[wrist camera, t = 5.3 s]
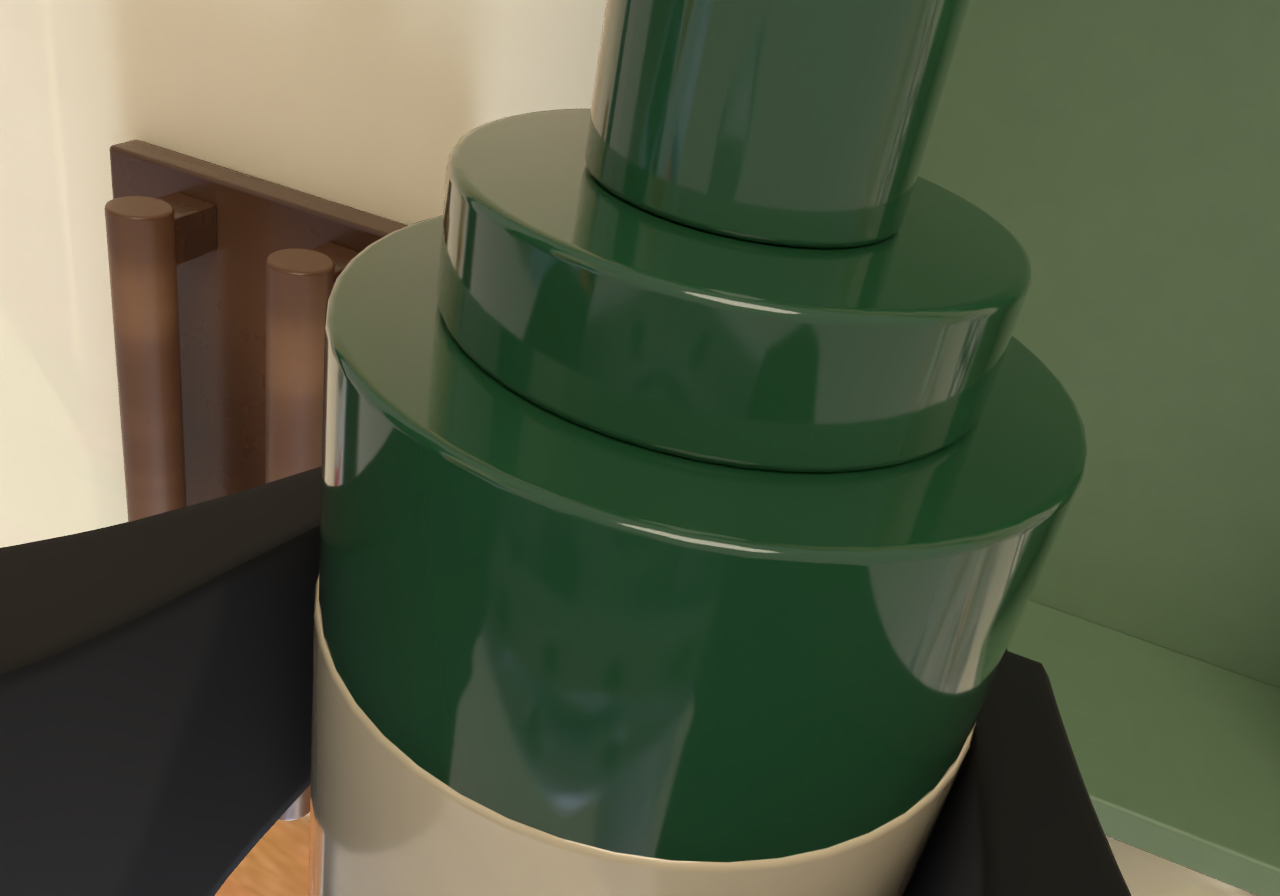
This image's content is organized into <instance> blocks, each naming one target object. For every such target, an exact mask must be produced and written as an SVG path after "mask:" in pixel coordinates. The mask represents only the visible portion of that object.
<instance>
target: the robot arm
mask: <svg viewBox="0 0 1280 896" xmlns="http://www.w3.org/2000/svg"><path fill="white" fill-rule="evenodd" d="M321 476H322V466H320V467H317V468H314V469H311V470H308V471H305V472H301V473H298V474H295V475H292V476H289V477H285V478H282V479H279V480H276V481H273V482H269V483H266V484H263V485H260V486H257V487H253V488H250V489H247V490H244V491H240V492H237V493H234V494H230V495H227V496H223V497H219V498H216V499H212V500H208V501H205V502H201V503H197V504H194V505H190V506H186V507H183V508H179V509H175V510H172V511H168V512H164V513H160V514H157V515H153V516H149V517H146V518H142V519H138V520H135V521H131V522H127V523H122V524H118V525H114V526H110V527H105V528H101V529H96V530H92V531H87V532H82V533H78V534H73V535H68V536H63V537H57V538H52V539H47V540H42V541H36V542H31V543H26V544H20V545H15V546H9V547H3V548H0V896H214V895H215V894H216V892H217V891H218V890H219V888H220V887H221V886H222V884H223V883H224V882H225V880H226V879H227V878H228V876H229V875H230V874H231V873H232V872H233V871H234V869H235V868H236V867H237V866H238V865H239V863H240V862H241V861H242V860H243V859H244V858H245V856H246V855H247V854H248V853H249V852H250V850H251V849H252V848H253V847H254V846H255V845H256V843H257V842H258V841H259V840H260V839H261V838H262V837H263V835H264V834H265V833H266V832H267V831H268V830H269V829H270V828H271V827H272V826H273V825H274V824H275V822H276V821H277V820H278V819H279V818H280V817H281V816H282V815H283V814H284V813H285V812H286V810H287V809H288V808H289V807H290V806H291V805H292V804H293V803H294V802H295V801H296V800H297V799H298V797H299V796H300V795H301V794H302V793H303V792H304V791H305V790H306V789H307V788H308V787H309V785H310V784H311V740H312V691H313V642H314V605H315V585H316V581H317V577H318V573H319V564H320V520H321ZM904 896H1131V894H1130V892H1129V889H1128V887H1127V885H1126V883H1125V880H1124V878H1123V876H1122V874H1121V872H1120V869H1119V867H1118V865H1117V863H1116V860H1115V858H1114V855H1113V853H1112V850H1111V848H1110V846H1109V843H1108V841H1107V838H1106V836H1105V834H1104V831H1103V829H1102V826H1101V824H1100V821H1099V819H1098V817H1097V814H1096V812H1095V809H1094V807H1093V805H1092V802H1091V799H1090V797H1089V794H1088V792H1087V789H1086V786H1085V784H1084V781H1083V778H1082V776H1081V773H1080V770H1079V767H1078V765H1077V762H1076V759H1075V756H1074V753H1073V751H1072V748H1071V745H1070V742H1069V739H1068V736H1067V733H1066V730H1065V727H1064V724H1063V721H1062V718H1061V715H1060V712H1059V709H1058V706H1057V702H1056V699H1055V696H1054V693H1053V689H1052V686H1051V683H1050V679H1049V677H1048V675H1047V673H1046V671H1045V669H1044V667H1043V665H1042V663H1040V662H1037V661H1034V660H1031V659H1029V658H1026V657H1023V656H1020V655H1017V654H1015V653H1012V652H1009V651H1007V652H1006V654H1005V656H1004V659H1003V661H1002V663H1001V666H1000V668H999V670H998V672H997V675H996V677H995V679H994V681H993V684H992V686H991V688H990V691H989V693H988V695H987V697H986V700H985V702H984V704H983V707H982V709H981V711H980V713H979V716H978V718H977V721H976V725H975V729H974V733H973V736H972V740H971V744H970V747H969V749H968V752H967V754H966V756H965V758H964V761H963V763H962V765H961V767H960V770H959V772H958V774H957V776H956V779H955V781H954V783H953V785H952V788H951V790H950V792H949V795H948V797H947V799H946V801H945V804H944V806H943V808H942V810H941V813H940V815H939V817H938V819H937V822H936V824H935V826H934V828H933V831H932V833H931V835H930V837H929V840H928V842H927V844H926V846H925V849H924V851H923V853H922V856H921V858H920V860H919V862H918V865H917V867H916V869H915V871H914V874H913V876H912V878H911V880H910V883H909V885H908V887H907V889H906V892H905V894H904Z"/></svg>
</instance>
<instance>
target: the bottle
mask: <svg viewBox="0 0 1280 896" xmlns="http://www.w3.org/2000/svg"><path fill="white" fill-rule="evenodd" d="M969 3H970V0H607V1H606V8H605V15H604V22H603V30H602V37H601V44H600V51H599V58H598V65H597V72H596V79H595V86H594V93H593V100H592V107H591V109H564V110H550V111H541V112H532V113H526V114H521V115H516V116H510V117H505V118H502V119H498V120H495V121H492V122H488V123H486V124H484V125H481V126H479V127H477V128H475V129H473V130H471V131H470V132H468V133H467V134H466V135H464V136H463V137H462V138H460V140H459V141H458V143H457V144H456V145H455V147H454V148H453V150H452V152H451V154H450V156H449V160H448V165H447V173H446V186H445V198H444V211H443V215H441V216H438V217H434V218H431V219H427V220H423V221H420V222H417V223H414V224H412V225H409V226H407V227H404V228H402V229H399V230H397V231H394V232H392V233H390V234H388V235H386V236H385V237H383V238H381V239H379V240H377V241H376V242H374V243H372V244H370V245H369V246H367V247H366V248H365V249H364V250H363V251H361V252H360V253H359V254H358V255H357V256H355V257H354V258H353V259H352V260H351V261H350V262H349V263H348V265H347V266H346V267H345V268H344V270H343V271H342V272H341V274H340V275H339V276H338V278H337V279H336V281H335V283H334V285H333V288H332V291H331V293H330V296H329V298H328V301H327V304H326V315H325V345H324V389H323V433H322V476H321V520H320V564H319V573H318V577H317V581H316V585H315V605H314V642H313V691H312V740H311V790H310V839H309V888H308V896H904V894H905V892H906V889H907V887H908V885H909V883H910V880H911V878H912V876H913V874H914V871H915V869H916V867H917V865H918V862H919V860H920V858H921V856H922V853H923V851H924V849H925V846H926V844H927V842H928V840H929V837H930V835H931V833H932V831H933V828H934V826H935V824H936V822H937V819H938V817H939V815H940V813H941V810H942V808H943V806H944V804H945V801H946V799H947V797H948V795H949V792H950V790H951V788H952V785H953V783H954V781H955V779H956V776H957V774H958V772H959V770H960V767H961V765H962V763H963V761H964V758H965V756H966V754H967V752H968V749H969V747H970V744H971V740H972V736H973V733H974V729H975V725H976V721H977V718H978V716H979V713H980V711H981V709H982V707H983V704H984V702H985V700H986V697H987V695H988V693H989V691H990V688H991V686H992V684H993V681H994V679H995V677H996V675H997V672H998V670H999V668H1000V666H1001V663H1002V661H1003V659H1004V656H1005V654H1006V652H1007V650H1008V647H1009V645H1010V643H1011V641H1012V638H1013V636H1014V634H1015V631H1016V629H1017V627H1018V625H1019V622H1020V620H1021V618H1022V616H1023V613H1024V611H1025V609H1026V606H1027V604H1028V602H1029V600H1030V597H1031V595H1032V593H1033V591H1034V588H1035V586H1036V584H1037V581H1038V579H1039V577H1040V575H1041V572H1042V570H1043V568H1044V565H1045V563H1046V561H1047V559H1048V556H1049V554H1050V552H1051V550H1052V547H1053V545H1054V543H1055V540H1056V538H1057V536H1058V534H1059V531H1060V529H1061V527H1062V525H1063V522H1064V520H1065V518H1066V515H1067V513H1068V511H1069V509H1070V506H1071V504H1072V502H1073V500H1074V497H1075V495H1076V493H1077V490H1078V488H1079V486H1080V484H1081V481H1082V479H1083V475H1084V470H1085V465H1086V460H1087V445H1086V437H1085V429H1084V424H1083V422H1082V419H1081V417H1080V414H1079V412H1078V409H1077V407H1076V404H1075V402H1074V401H1073V399H1072V398H1071V396H1070V395H1069V393H1068V392H1067V390H1066V389H1065V387H1064V386H1063V384H1062V383H1061V381H1060V380H1059V379H1058V378H1057V377H1056V376H1055V375H1054V374H1053V372H1052V371H1051V370H1050V369H1049V368H1048V367H1047V366H1046V365H1045V363H1044V362H1043V361H1042V360H1041V359H1039V358H1038V357H1037V356H1036V355H1035V354H1034V353H1033V352H1032V351H1030V350H1029V349H1028V348H1027V347H1026V346H1025V345H1024V344H1023V343H1021V342H1020V341H1019V340H1018V339H1016V338H1015V337H1014V336H1012V334H1013V331H1014V328H1015V326H1016V323H1017V320H1018V318H1019V315H1020V312H1021V310H1022V307H1023V304H1024V302H1025V299H1026V296H1027V293H1028V291H1029V288H1030V285H1031V263H1030V259H1029V257H1028V255H1027V252H1026V250H1025V248H1024V247H1023V246H1022V245H1021V243H1020V242H1019V241H1018V239H1017V238H1016V237H1015V236H1014V235H1013V234H1012V233H1011V232H1010V231H1009V230H1008V229H1007V228H1005V227H1004V226H1003V225H1002V224H1001V223H1000V222H998V221H997V220H995V219H994V218H993V217H991V216H990V215H989V214H987V213H986V212H984V211H983V210H981V209H980V208H978V207H977V206H975V205H973V204H972V203H970V202H968V201H967V200H965V199H963V198H962V197H960V196H958V195H956V194H954V193H952V192H950V191H948V190H947V189H945V188H943V187H941V186H939V185H937V184H934V183H932V182H930V181H928V180H926V179H923V178H921V177H919V176H918V173H919V170H920V167H921V163H922V160H923V156H924V153H925V150H926V146H927V143H928V140H929V136H930V133H931V130H932V126H933V123H934V120H935V116H936V113H937V110H938V106H939V103H940V100H941V96H942V93H943V90H944V86H945V83H946V80H947V76H948V73H949V70H950V66H951V63H952V60H953V56H954V53H955V50H956V46H957V43H958V40H959V36H960V33H961V30H962V26H963V23H964V20H965V16H966V13H967V10H968V6H969Z"/></svg>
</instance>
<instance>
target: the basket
mask: <svg viewBox="0 0 1280 896" xmlns="http://www.w3.org/2000/svg"><path fill="white" fill-rule="evenodd" d="M918 176H919V177H921V178H923V179H926V180H928V181H930V182H932V183H934V184H937V185H939V186H941V187H943V188H945V189H947V190H948V191H950V192H952V193H954V194H956V195H958V196H960V197H962V198H963V199H965V200H967V201H968V202H970V203H972V204H973V205H975V206H977V207H978V208H980V209H981V210H983V211H984V212H986V213H987V214H989V215H990V216H991V217H993V218H994V219H995V220H997V221H998V222H1000V223H1001V224H1002V225H1003V226H1004V227H1005V228H1007V229H1008V230H1009V231H1010V232H1011V233H1012V234H1013V235H1014V236H1015V237H1016V238H1017V239H1018V241H1019V242H1020V243H1021V245H1022V246H1023V247H1024V248H1025V250H1026V252H1027V255H1028V257H1029V259H1030V263H1031V285H1030V288H1029V291H1028V293H1027V296H1026V299H1025V302H1024V304H1023V307H1022V310H1021V312H1020V315H1019V318H1018V320H1017V323H1016V326H1015V328H1014V331H1013V334H1012V336H1014V337H1015V338H1016V339H1018V340H1019V341H1020V342H1021V343H1023V344H1024V345H1025V346H1026V347H1027V348H1028V349H1029V350H1030V351H1032V352H1033V353H1034V354H1035V355H1036V356H1037V357H1038V358H1039V359H1041V360H1042V361H1043V362H1044V363H1045V365H1046V366H1047V367H1048V368H1049V369H1050V370H1051V371H1052V372H1053V374H1054V375H1055V376H1056V377H1057V378H1058V379H1059V380H1060V381H1061V383H1062V384H1063V386H1064V387H1065V389H1066V390H1067V392H1068V393H1069V395H1070V396H1071V398H1072V399H1073V401H1074V402H1075V404H1076V407H1077V409H1078V412H1079V414H1080V417H1081V419H1082V422H1083V424H1084V429H1085V437H1086V445H1087V460H1086V465H1085V470H1084V475H1083V479H1082V481H1081V484H1080V486H1079V488H1078V490H1077V493H1076V495H1075V497H1074V500H1073V502H1072V504H1071V506H1070V509H1069V511H1068V513H1067V515H1066V518H1065V520H1064V522H1063V525H1062V527H1061V529H1060V531H1059V534H1058V536H1057V538H1056V540H1055V543H1054V545H1053V547H1052V550H1051V552H1050V554H1049V556H1048V559H1047V561H1046V563H1045V565H1044V568H1043V570H1042V572H1041V575H1040V577H1039V579H1038V581H1037V584H1036V586H1035V588H1034V591H1033V593H1032V595H1031V597H1030V600H1029V602H1028V604H1027V606H1026V609H1025V611H1024V613H1023V616H1022V618H1021V620H1020V622H1019V625H1018V627H1017V629H1016V631H1015V634H1014V636H1013V638H1012V641H1011V643H1010V645H1009V647H1008V650H1007V651H1009V652H1012V653H1015V654H1017V655H1020V656H1023V657H1026V658H1029V659H1031V660H1034V661H1037V662H1040V663H1042V665H1043V667H1044V669H1045V671H1046V673H1047V675H1048V677H1049V679H1050V683H1051V686H1052V689H1053V693H1054V696H1055V699H1056V702H1057V706H1058V709H1059V712H1060V715H1061V718H1062V721H1063V724H1064V727H1065V730H1066V733H1067V736H1068V739H1069V742H1070V745H1071V748H1072V751H1073V753H1074V756H1075V759H1076V762H1077V765H1078V767H1079V770H1080V773H1081V776H1082V778H1083V781H1084V784H1085V786H1086V789H1087V792H1088V794H1089V797H1090V799H1091V802H1092V805H1093V807H1094V809H1095V812H1096V814H1097V817H1098V819H1099V821H1100V824H1101V826H1102V829H1103V831H1104V834H1105V835H1106V836H1109V837H1111V838H1114V839H1116V840H1119V841H1121V842H1124V843H1126V844H1129V845H1131V846H1134V847H1136V848H1139V849H1141V850H1144V851H1146V852H1149V853H1151V854H1154V855H1156V856H1159V857H1162V858H1164V859H1167V860H1169V861H1172V862H1174V863H1177V864H1179V865H1182V866H1184V867H1187V868H1189V869H1192V870H1194V871H1197V872H1199V873H1202V874H1204V875H1207V876H1209V877H1212V878H1214V879H1217V880H1219V881H1222V882H1224V883H1227V884H1229V885H1232V886H1235V887H1237V888H1240V889H1242V890H1245V891H1247V892H1250V893H1252V894H1255V895H1257V896H1280V0H970V3H969V6H968V10H967V13H966V16H965V20H964V23H963V26H962V30H961V33H960V36H959V40H958V43H957V46H956V50H955V53H954V56H953V60H952V63H951V66H950V70H949V73H948V76H947V80H946V83H945V86H944V90H943V93H942V96H941V100H940V103H939V106H938V110H937V113H936V116H935V120H934V123H933V126H932V130H931V133H930V136H929V140H928V143H927V146H926V150H925V153H924V156H923V160H922V163H921V167H920V170H919V173H918Z"/></svg>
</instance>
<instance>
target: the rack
mask: <svg viewBox="0 0 1280 896" xmlns="http://www.w3.org/2000/svg"><path fill="white" fill-rule="evenodd" d="M110 160H111V174H112V188H113V200H111V201H109V202H108V203H107V204H106V206H105V218H106V231H107V244H108V257H109V271H110V284H111V297H112V310H113V323H114V337H115V350H116V363H117V376H118V390H119V403H120V416H121V429H122V443H123V456H124V469H125V482H126V495H127V509H128V522H131V521H135V520H138V519H142V518H146V517H149V516H153V515H157V514H160V513H164V512H168V511H172V510H175V509H179V508H183V507H186V506H190V505H194V504H197V503H201V502H205V501H208V500H212V499H216V498H219V497H223V496H227V495H230V494H234V493H237V492H240V491H244V490H247V489H250V488H253V487H257V486H260V485H263V484H266V483H269V482H273V481H276V480H279V479H282V478H285V477H289V476H292V475H295V474H298V473H301V472H305V471H308V470H311V469H314V468H317V467H320V466H322V433H323V389H324V345H325V315H326V304H327V301H328V298H329V296H330V293H331V291H332V288H333V285H334V283H335V281H336V279H337V278H338V276H339V275H340V274H341V272H342V271H343V270H344V268H345V267H346V266H347V265H348V263H349V262H350V261H351V260H352V259H353V258H354V257H355V256H357V255H358V254H359V253H360V252H361V251H363V250H364V249H365V248H366V247H367V246H369V245H370V244H372V243H374V242H376V241H377V240H379V239H381V238H383V237H385V236H386V235H388V234H390V233H392V232H394V231H397V230H399V229H402V228H404V227H407V225H404V224H401V223H398V222H395V221H392V220H388V219H385V218H382V217H379V216H376V215H373V214H370V213H366V212H363V211H360V210H357V209H354V208H351V207H348V206H344V205H341V204H338V203H335V202H332V201H329V200H325V199H322V198H319V197H316V196H313V195H310V194H307V193H303V192H300V191H297V190H294V189H291V188H288V187H284V186H281V185H278V184H275V183H272V182H269V181H266V180H262V179H259V178H256V177H253V176H250V175H247V174H243V173H240V172H237V171H234V170H231V169H228V168H225V167H221V166H218V165H215V164H212V163H209V162H206V161H203V160H199V159H196V158H193V157H190V156H187V155H184V154H180V153H177V152H174V151H171V150H168V149H165V148H162V147H158V146H155V145H152V144H149V143H146V142H143V141H139V140H133V141H129V142H125V143H120V144H116V145H112V146H111V147H110ZM310 790H311V784H310V785H309V787H308V788H307V789H306V790H305V791H304V792H303V793H302V794H301V795H300V796H299V797H298V799H297V800H296V801H295V802H294V803H293V804H292V805H291V806H290V807H289V808H288V809H287V810H286V812H285V813H284V814H283V815H282V816H281V817H280V818H279V819H280V820H295V819H299V818H301V817H303V816H305V815H306V814H308V813H309V812H310Z"/></svg>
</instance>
